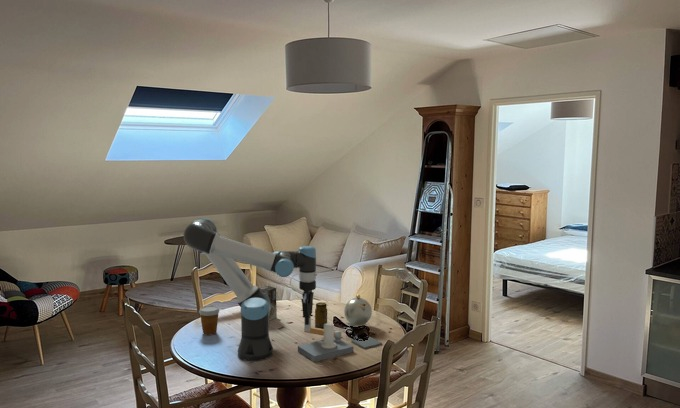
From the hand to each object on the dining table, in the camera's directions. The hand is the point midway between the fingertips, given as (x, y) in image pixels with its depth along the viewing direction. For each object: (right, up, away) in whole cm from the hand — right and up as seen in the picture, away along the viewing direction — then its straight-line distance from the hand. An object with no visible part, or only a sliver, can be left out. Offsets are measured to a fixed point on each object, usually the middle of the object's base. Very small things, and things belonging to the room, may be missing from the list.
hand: (307, 330), depth 253 cm
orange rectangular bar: (+7, -2, -1) cm, 7 cm away
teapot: (+23, -3, +23) cm, 33 cm away
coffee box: (-23, -2, +33) cm, 40 cm away
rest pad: (+27, -6, -1) cm, 28 cm away
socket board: (+8, -7, -11) cm, 15 cm away
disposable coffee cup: (-48, -4, +12) cm, 49 cm away
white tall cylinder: (+10, -7, -11) cm, 16 cm away
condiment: (+6, -3, +20) cm, 21 cm away
